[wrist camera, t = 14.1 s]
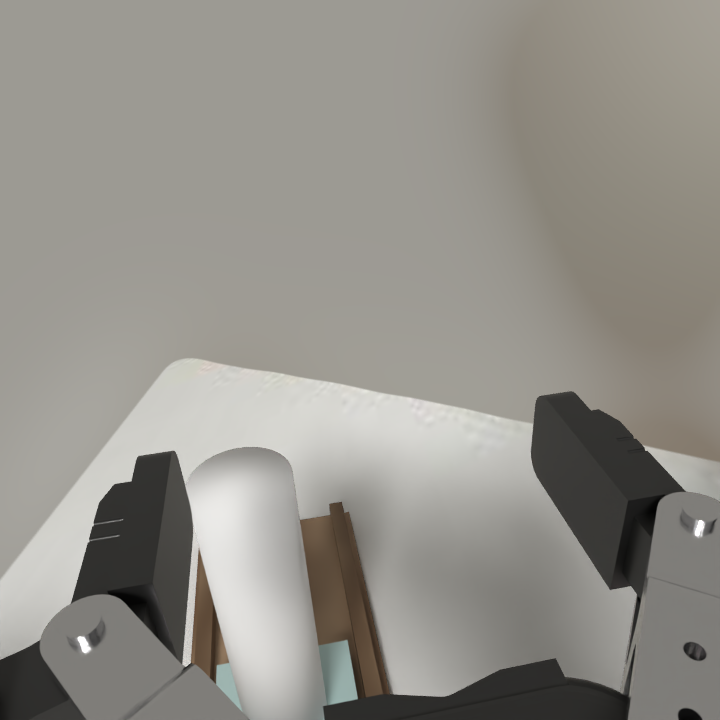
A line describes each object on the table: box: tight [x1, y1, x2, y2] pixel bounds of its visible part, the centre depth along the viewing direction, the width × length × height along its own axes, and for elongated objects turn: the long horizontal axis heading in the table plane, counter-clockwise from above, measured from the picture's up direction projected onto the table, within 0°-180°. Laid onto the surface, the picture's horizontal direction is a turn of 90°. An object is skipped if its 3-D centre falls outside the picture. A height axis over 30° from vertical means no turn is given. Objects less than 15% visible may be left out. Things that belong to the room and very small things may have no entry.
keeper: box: [185, 447, 358, 720], centre depth 31 cm, size 8×8×18 cm
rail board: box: [191, 502, 390, 699], centre depth 39 cm, size 12×24×4 cm, turn 10°
